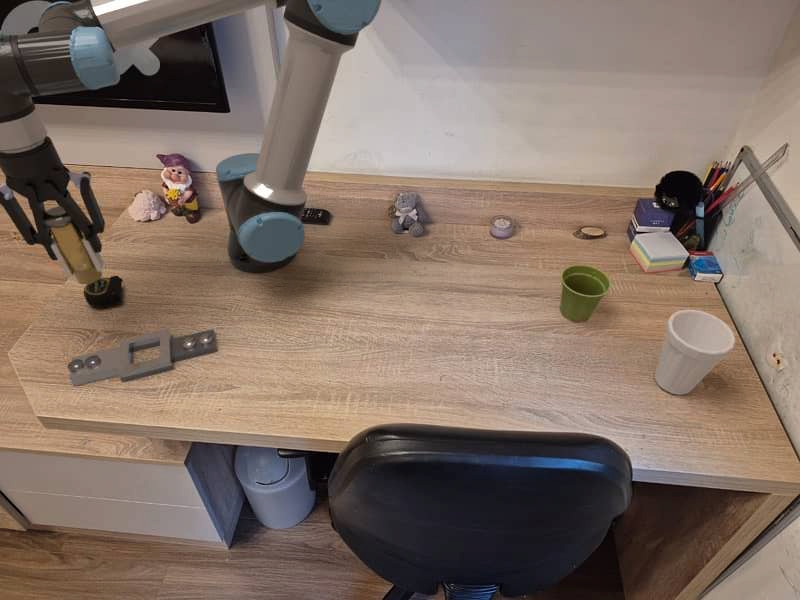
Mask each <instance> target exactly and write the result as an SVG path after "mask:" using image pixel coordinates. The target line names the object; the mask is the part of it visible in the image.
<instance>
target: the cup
mask: <svg viewBox="0 0 800 600" xmlns="http://www.w3.org/2000/svg"><path fill="white" fill-rule="evenodd" d="M735 344H736V337H735V334H734V331H733V330H732V329H731V328H730V326H729V325H728V324H727V323H726V322H725V321H723V320H721V319H720V318H719V317H717V316H715V315H713V314H710V313H708V312H705V311H703V310H698V309H697V310H696V309H683V310H682V309H681V310H677V311H676V312H674V313H673V314H671V315H670V317H669V319H668V321H667V324H666V328H665V338H664V341H663V345H662V348H661V351H660V355H659V359H658V363H657V367H656V369H655V373H654V379H655V382H656V384H657V385H658V386H659V387H660V388H661V389H662V390H664V391H665V392H668V393H670V394H673V395H678V396H681V395H687V394H689V393H690V392H691V391H692V390H693V389H694V388H695V387H697V385H698V384H699V383H700V382H701V381H702V380H703V379H704V378H705V377H706V376H707V375H708V374H709V373H710V372H711V371H712V370H713V369H714V368H715V367H716V366H717V365H718V364H719V363H720V362H721V360H722V359H724V357H726V356H728V354H730V352H731V351H733V349H734V347H735Z"/></svg>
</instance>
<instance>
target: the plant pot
mask: <svg viewBox="0 0 800 600" xmlns="http://www.w3.org/2000/svg"><path fill="white" fill-rule="evenodd" d="M560 282H561V295H560V304H559V310H560V313H561V315H562V316H563V318H565V319H566V320H568V321H570V322H574V323H577V322H578V323H579V322H583V323H584V322H587V321H589V320H590V319H591V317H592V315H593V313H594V312H595V310H596V309H597V308H598V307H597V306H598V304H599V303H600V301H601V300H602V298H604V296H605V295H607V294H608V293H609V292H610V291H611V288H612V281H611V278H610V277H609V276H608V275H607V273H606V272H604V271H603V270H602V269H599V268H598V267H596V266H592V265H589V264H579V263H578V264H573V265H569V266H566V267H564V269H563V270H562V271H561V273H560Z"/></svg>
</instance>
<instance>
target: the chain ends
mask: <svg viewBox="0 0 800 600" xmlns="http://www.w3.org/2000/svg"><path fill="white" fill-rule="evenodd" d="M172 335H173V334H172V333H171V331H170V329H169V328H164V329H161V330H157V331H156V330H155V331H152V332H148V333H143V334H139V335H134V336H130V337H126V338H122V339H119V344H118V346H115V347H112V348H107V349H103V350H98V351H94V352H90V353H85V354H82V355H77V356H72V357H71V361H70V362H69V363H68V364H67V368H68V370H69V371H70V372H69V380H70V381H71V383H72V385H73V386H74V387H77V386H78V387H79V386H80V385H85V384H90V383H93V382H98V381H102V380H106V379H110V378H114V377H119V378H120V380H121V382H122V383H124V382H128V381H133V380H136V379H140V378H145V377H148V376H153V375H157V374H161V373H165V372H168V371H172V370H175V366H174V365H175V364H174V363H175V362H180V361H183V360H189V359H192V358H196V357H200V356H204V355H208V354H212V353H216V352H218V344H217V338H216V332H215V329H207V330H204V331H200V332H195V333H190V334H187V335H184V336H179V337H174V338H173V336H172ZM155 347H160V348H159V350H160V352H159V355H160V357H156V358H151V359H147V360H143V361H138V362H135V363H133V358H134V352H137V351H138V352H139V351H142V350H145V349H151V348H155Z"/></svg>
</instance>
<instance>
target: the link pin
mask: <svg viewBox="0 0 800 600" xmlns="http://www.w3.org/2000/svg"><path fill="white" fill-rule="evenodd" d="M45 211H46V213H45V216H44V220H43V222H44V224H45V226H47V227H48V228H49V229H50V231H51V233H52V238H53V237H54V239H55V240H56V242H57V244H58V246H59V248H60V250H61V252H62V253H63V255H64V257H65V259H66V261H67V263H68V264H69V266H70V268H71V270H72V272H73V276H74V277H75V279H76V281H77V283H78V284H80V285H87V284H91V283H94V282H96V281H97V280H99V279H100V278H103V277H102V276H103V271H99V272H98V271H97V269H96V267H95V265H94V263H93V261H92V259H91V257H90V255H89V253H88V251H87V249H86V247H85V245H84V243H83V241H82V240H83V233H82V231H81V230H80V229H79V228H78V226H77V225H76V224H75V223H74V221H73V220H72V219H71V217H70V216H69V215H68V214H67V213H66V211H65V210H64V209H63V208H62V207H61V206H59V205H58V206H55V207H51V208H49V209H47V210H45Z"/></svg>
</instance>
